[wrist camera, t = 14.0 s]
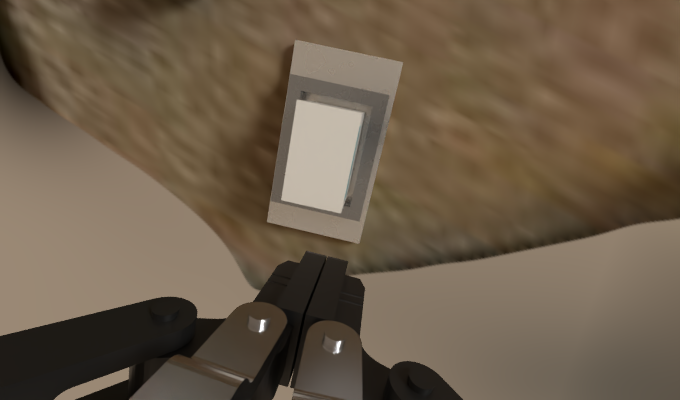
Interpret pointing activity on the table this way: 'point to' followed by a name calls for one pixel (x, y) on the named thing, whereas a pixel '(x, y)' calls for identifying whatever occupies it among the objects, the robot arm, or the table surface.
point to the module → (321, 155)
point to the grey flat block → (376, 101)
